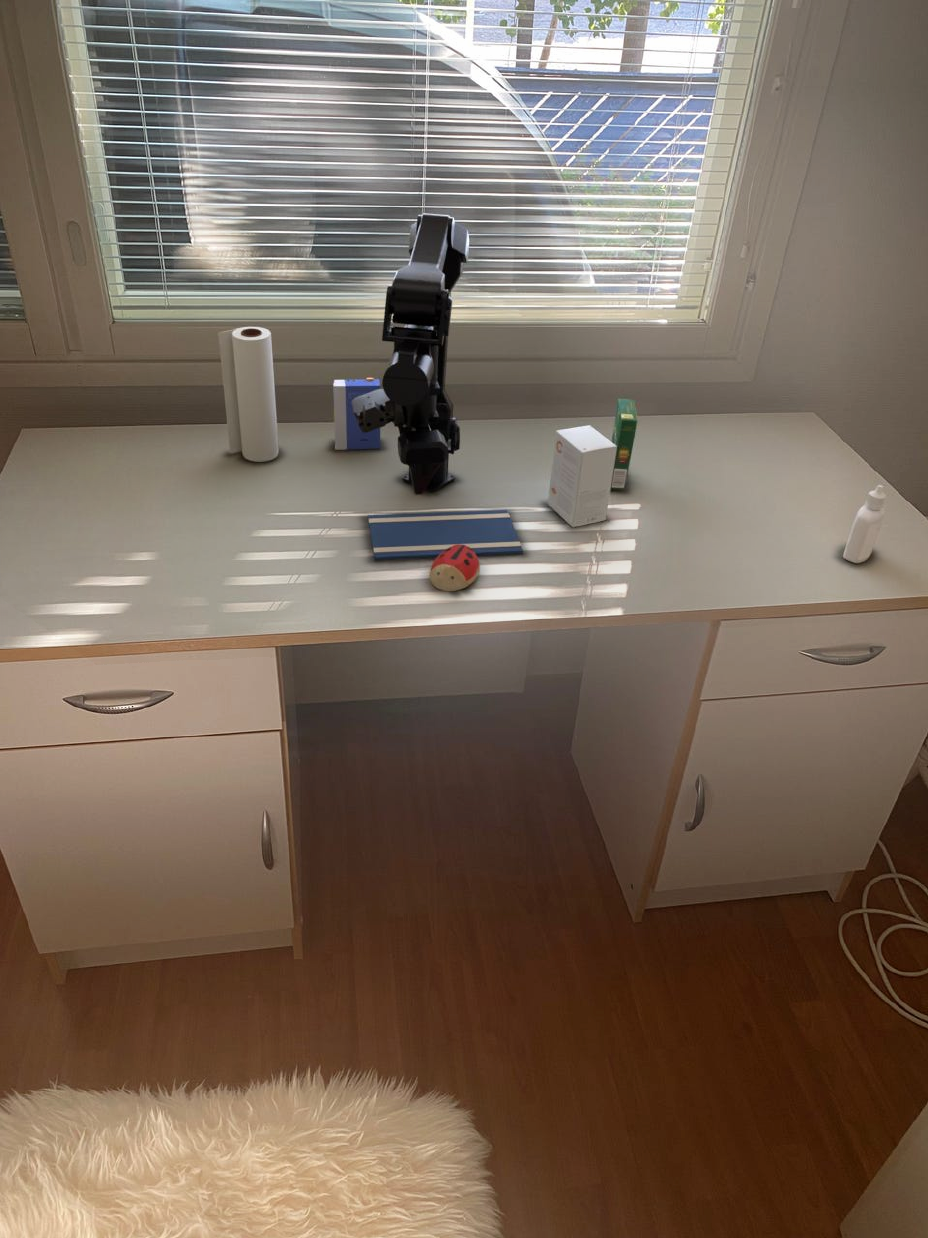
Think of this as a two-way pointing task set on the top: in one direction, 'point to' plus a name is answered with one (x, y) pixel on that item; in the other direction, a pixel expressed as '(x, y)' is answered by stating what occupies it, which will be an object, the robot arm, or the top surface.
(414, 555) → the towel
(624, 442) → the coffee box
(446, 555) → the ladybug figurine
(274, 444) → the paper towel roll
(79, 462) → the top surface
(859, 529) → the eye dropper bottle
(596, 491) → the small box
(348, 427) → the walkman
